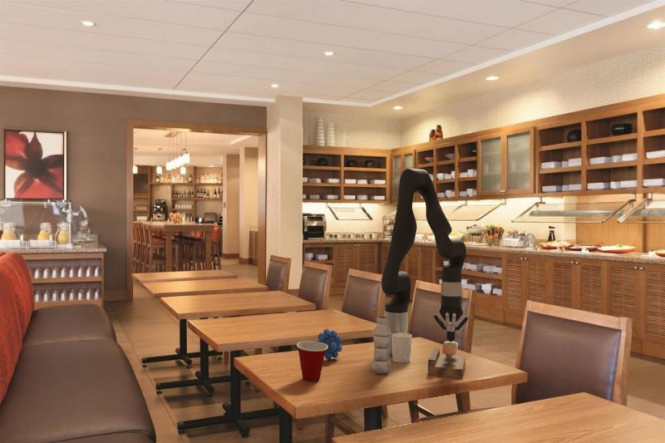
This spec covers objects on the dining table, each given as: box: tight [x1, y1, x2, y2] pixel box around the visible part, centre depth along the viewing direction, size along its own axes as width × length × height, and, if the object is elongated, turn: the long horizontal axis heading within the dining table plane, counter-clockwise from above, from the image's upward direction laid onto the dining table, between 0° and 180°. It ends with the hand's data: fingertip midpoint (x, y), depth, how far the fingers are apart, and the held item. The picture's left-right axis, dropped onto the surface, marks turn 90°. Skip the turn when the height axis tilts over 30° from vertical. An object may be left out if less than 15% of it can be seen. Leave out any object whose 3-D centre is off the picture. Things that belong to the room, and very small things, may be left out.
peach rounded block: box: [442, 344, 457, 359], centre depth 206 cm, size 5×5×4 cm
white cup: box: [392, 332, 413, 364], centre depth 223 cm, size 8×8×10 cm
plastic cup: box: [296, 340, 328, 383], centre depth 197 cm, size 11×11×12 cm
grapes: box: [316, 328, 343, 361], centre depth 222 cm, size 12×7×12 cm, turn 123°
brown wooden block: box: [427, 347, 466, 379], centre depth 212 cm, size 12×18×5 cm, turn 164°
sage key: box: [443, 340, 458, 351], centre depth 211 cm, size 5×5×4 cm
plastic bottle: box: [371, 315, 391, 375], centre depth 205 cm, size 6×7×20 cm
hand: (450, 341), depth 211 cm, fingers closed
